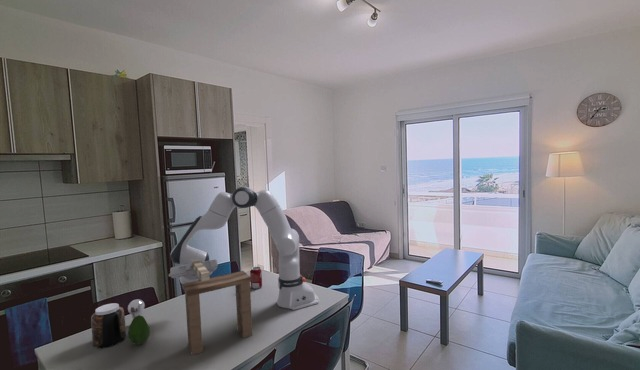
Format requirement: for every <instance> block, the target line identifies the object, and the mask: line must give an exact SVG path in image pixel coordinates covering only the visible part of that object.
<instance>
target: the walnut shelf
mask: <svg viewBox="0 0 640 370" xmlns="http://www.w3.org/2000/svg"><path fill="white" fill-rule="evenodd" d="M181 285H182V290H183V292H184V297H185V298H184V299H185V313H186V328H187V329H186V330H187V332H186V333H187V343H188V344H187V345H188V346H187V347H188V348H189V351H190V353H191V356H194V355H197V354H200V353H202V352H203V337H202V334H203V333H202V320H201V319H202V317H201V302H200V301H201V300H200V295H201V294H204V293H209V292H214V291H218V290H222V289H225V288H230V287H233V286H235V300H236V301H235V303H236V322H237V323H236V324H237V325H236V326H237V331H238V333H239V334H240V335H241V336H242V338H243V339H246V338H248V337H251V336H253V322H252V321H253V319H252V299H251V298H252V297H251V296H252V295H251V277H250V274H247V272H245V271H244V270H241V271H236V272H235V271H234V272H232V273H228V274H223V275H217V276H212V277H210V280H206V281H201V279H199V280H198V281H194V282H189V283H184V284H182V283H181Z"/></svg>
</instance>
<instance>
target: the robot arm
mask: <svg viewBox="0 0 640 370" xmlns="http://www.w3.org/2000/svg"><path fill="white" fill-rule="evenodd" d="M277 200H278V199H276V198H275V196H274V195H273V194H272V192H271V191H270V190H268V189H261V190H260V191H257V192H256V191H254V190H253V189H252V188H250V187H249V186H239V187H237V188H236V189H234V191H233V192H232V193H229V192H225V191H221V192H219V193H218V194H217V195H216V196H215V197H214V199H213V201H212V202H211V204H210V205H209V207H208V210H207V211H206V213H205V214H203V215H199V216H198V217H196V218H195V219H194V221H193V222H192V224H191V225H190V226H189V228H188V229H187V230H186V231H185V232H184V235H183V236H182V237H181V239H180V241H178V243H177V244H176V245H174V247H173V249H171V252H170V254H169V255H170V256H169V257H170V260H171V262H172V263H173V264H176V265H178V266H172V267H170V269H169V270H170V271H169V272H170V273H168V277H171V279H175V278H176V279H177V278H179V281H180V284H181V285H182V284H184V283H189V282H194V281H198V280H201V279H200V278H199V276H198V275H197V274H196V272H195V271H194V269H193V263H192V261H193V260H200V262H201V263H202V264H203V265H204V266H205V268H206V269H207V270H208V271H209V273H210V276H211V275H212V274H213V272H215V271H216V270H217V268H218V266H219V265H218V260H217V259H210V255H209V253H208V252H206V251H205V250H202V249H198V248H196V247H193V246H190V245H189V242H191V240H192V238H193V237H194V236H195V234H196V233H197V232H198V231H201V230H210V231H211V230H218V229H221V228H223V227H225V226H226V224H227V222H228V220H229V219H230V216H231V214H232V212H233V210H235V208H238V209H239V208H240V209H246V208H247V209H248V208H251V207H255V208H256V209H257V211H258V213H259V215H260V216H261V219H262V220H263V221H264V223H265V225H266V227H267V228H268V231H269V233H270V236H271V238H272V241H273V243H274V245H275V247H276V250H277V252H278V278H277V280H278V282H277V283H278V284H277V286H278V297H277V302H276V305H277V306H278V307H280V308H283V309H289V310H293V311H294V310H300V309H302V308H305V307H310V306H314V305H317V304H319V303H320V299H319V296H318V295H317V294H316V293H315V290H314V289H313V286H311V285H309V284H308V283H306V281H307V280H306V278H305V277H304V276H303V275H302V274H301V273H300V271H301V270H300V235H299V233H298V232H297V230H296V229H294V228H291V225H290V223H289V221H288V218H287V216H286V214H285V212H284V211H283V208H282V207H281V205H280V204H279V202H278V201H277Z"/></svg>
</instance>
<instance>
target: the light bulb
mask: <svg viewBox="0 0 640 370" xmlns="http://www.w3.org/2000/svg"><path fill="white" fill-rule="evenodd" d="M145 307H146V305H145V302H144V301H143V300H142V299H138V298H137V299H133V300H132V301H130V302H129V303H128V305H127V311H128V313H129V314H130V316H131V318H132V320H133V319H134V318H135V317H136V316H138V315H141V316H142V315H143V312H144V310H145Z"/></svg>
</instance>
